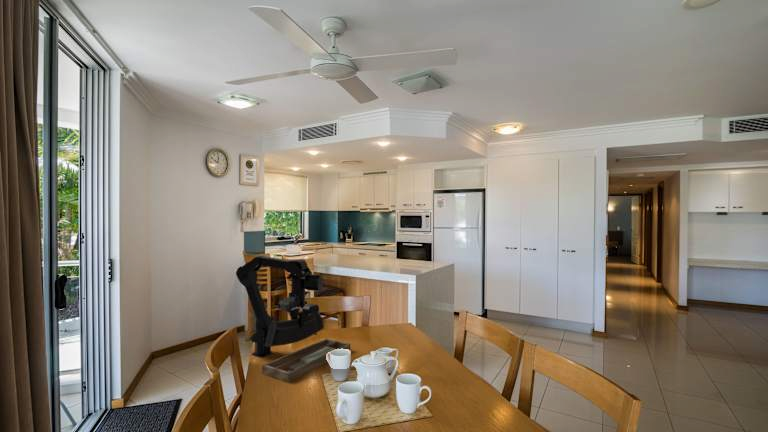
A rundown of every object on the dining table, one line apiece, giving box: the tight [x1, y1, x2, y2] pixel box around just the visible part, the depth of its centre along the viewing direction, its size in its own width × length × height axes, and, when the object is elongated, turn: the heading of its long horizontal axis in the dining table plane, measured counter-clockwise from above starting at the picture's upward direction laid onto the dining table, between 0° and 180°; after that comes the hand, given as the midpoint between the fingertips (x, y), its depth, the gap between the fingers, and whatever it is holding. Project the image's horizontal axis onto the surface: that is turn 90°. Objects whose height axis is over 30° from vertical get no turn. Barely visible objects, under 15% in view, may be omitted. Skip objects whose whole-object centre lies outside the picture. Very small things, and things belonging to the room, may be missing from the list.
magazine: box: [265, 310, 324, 348], centre depth 150 cm, size 17×3×30 cm
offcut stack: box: [287, 347, 336, 372], centre depth 146 cm, size 6×26×4 cm, turn 150°
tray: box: [261, 337, 351, 383], centre depth 148 cm, size 14×36×3 cm, turn 148°
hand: (297, 326), depth 151 cm, fingers closed on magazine, 3 cm apart
